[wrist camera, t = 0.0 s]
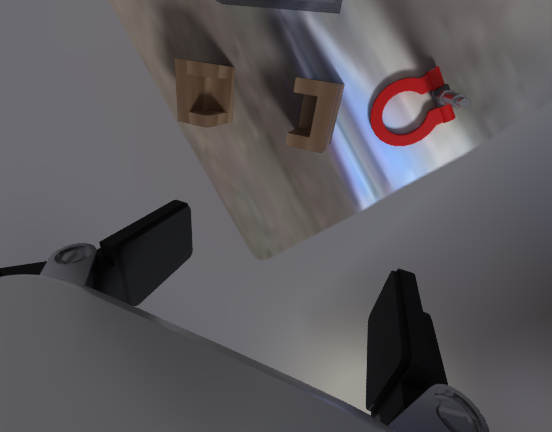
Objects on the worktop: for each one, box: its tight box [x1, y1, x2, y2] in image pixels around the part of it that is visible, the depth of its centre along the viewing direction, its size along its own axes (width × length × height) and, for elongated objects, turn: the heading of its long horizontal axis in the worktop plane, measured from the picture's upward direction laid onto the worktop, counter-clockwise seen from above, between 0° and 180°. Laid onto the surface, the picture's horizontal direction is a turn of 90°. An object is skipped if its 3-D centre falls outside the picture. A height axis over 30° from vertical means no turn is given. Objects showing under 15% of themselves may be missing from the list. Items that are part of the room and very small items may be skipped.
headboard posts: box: [174, 58, 344, 153], centre depth 36 cm, size 22×8×8 cm, turn 83°
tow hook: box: [370, 66, 471, 146], centre depth 28 cm, size 8×13×9 cm
